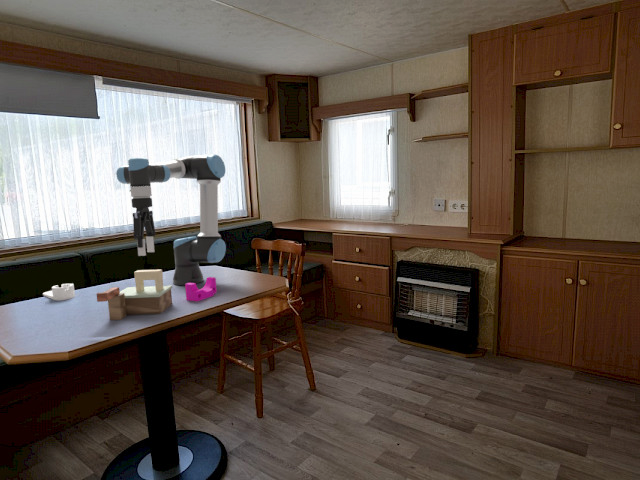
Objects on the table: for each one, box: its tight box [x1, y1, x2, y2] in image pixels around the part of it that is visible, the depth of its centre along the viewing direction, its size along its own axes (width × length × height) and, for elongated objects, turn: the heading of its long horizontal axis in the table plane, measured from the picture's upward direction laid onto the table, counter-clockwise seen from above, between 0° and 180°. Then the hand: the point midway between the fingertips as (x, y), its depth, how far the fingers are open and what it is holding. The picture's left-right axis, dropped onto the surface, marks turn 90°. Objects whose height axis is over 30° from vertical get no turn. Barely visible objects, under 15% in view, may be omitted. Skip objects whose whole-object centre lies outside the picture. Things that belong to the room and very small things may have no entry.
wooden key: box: [96, 286, 121, 303], centre depth 158 cm, size 11×3×3 cm, turn 0°
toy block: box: [184, 276, 218, 302], centre depth 192 cm, size 15×6×8 cm, turn 150°
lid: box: [119, 269, 173, 298], centre depth 173 cm, size 15×19×9 cm
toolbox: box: [107, 288, 173, 321], centre depth 172 cm, size 20×18×9 cm
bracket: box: [42, 283, 76, 301], centre depth 200 cm, size 20×9×7 cm, turn 51°
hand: (146, 253), depth 172 cm, fingers open, 8 cm apart
